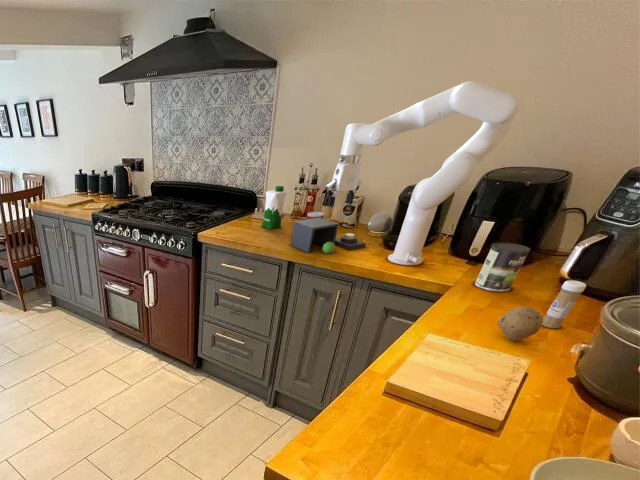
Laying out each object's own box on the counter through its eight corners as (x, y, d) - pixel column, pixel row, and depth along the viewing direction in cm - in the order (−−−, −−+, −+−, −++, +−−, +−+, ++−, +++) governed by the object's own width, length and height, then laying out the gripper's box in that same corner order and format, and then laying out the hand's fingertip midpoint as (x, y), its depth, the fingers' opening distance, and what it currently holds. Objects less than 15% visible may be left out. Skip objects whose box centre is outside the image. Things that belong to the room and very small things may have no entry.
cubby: (333, 248, 191) (339, 223, 184) (307, 252, 187) (312, 227, 181) (314, 240, 201) (319, 217, 194) (290, 245, 198) (294, 221, 191)
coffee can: (517, 289, 145) (538, 249, 136) (494, 293, 143) (514, 253, 135) (489, 279, 153) (507, 240, 145) (467, 283, 151) (484, 244, 143)
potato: (484, 336, 120) (500, 304, 114) (503, 329, 123) (520, 298, 117) (519, 350, 113) (538, 317, 108) (538, 342, 116) (558, 310, 110)
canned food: (316, 233, 210) (321, 211, 203) (321, 238, 203) (326, 215, 197) (301, 234, 211) (305, 211, 204) (305, 238, 204) (309, 215, 198)
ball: (335, 254, 184) (338, 243, 181) (324, 255, 183) (327, 244, 181) (330, 251, 188) (332, 240, 185) (319, 251, 188) (322, 240, 185)
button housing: (364, 247, 189) (366, 239, 187) (348, 249, 187) (350, 242, 185) (345, 240, 199) (347, 233, 197) (330, 243, 197) (332, 235, 195)
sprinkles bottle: (536, 322, 125) (560, 280, 117) (550, 321, 125) (575, 279, 117) (550, 329, 121) (576, 286, 113) (564, 328, 121) (591, 285, 114)
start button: (355, 238, 190) (356, 234, 189) (348, 240, 189) (349, 236, 188) (349, 236, 193) (350, 232, 192) (342, 237, 192) (343, 234, 191)
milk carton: (283, 227, 223) (289, 187, 212) (270, 230, 220) (276, 189, 208) (271, 223, 229) (277, 184, 218) (259, 226, 226) (264, 187, 215)
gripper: (338, 163, 159) (329, 209, 169) (374, 158, 163) (362, 204, 173) (325, 161, 165) (316, 206, 175) (359, 156, 169) (349, 200, 179)
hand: (339, 205), depth 174 cm, fingers open, 9 cm apart
